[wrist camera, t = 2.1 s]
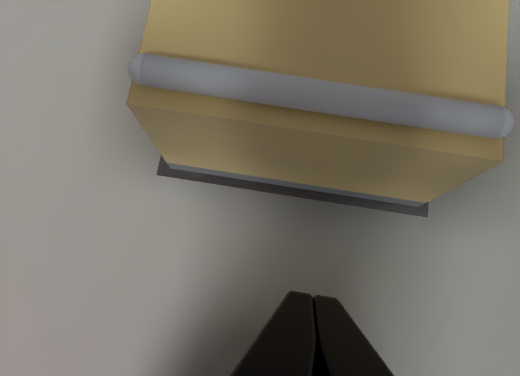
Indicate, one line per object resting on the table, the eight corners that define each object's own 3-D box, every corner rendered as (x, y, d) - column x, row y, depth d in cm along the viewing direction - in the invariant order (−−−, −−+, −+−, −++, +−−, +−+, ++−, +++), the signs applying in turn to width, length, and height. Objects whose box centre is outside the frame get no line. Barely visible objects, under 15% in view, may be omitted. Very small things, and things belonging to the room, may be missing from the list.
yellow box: (408, 233, 22) (523, 145, 13) (170, 195, 23) (116, 83, 13) (415, 65, 26) (510, -99, 16) (208, 35, 26) (187, -143, 17)
